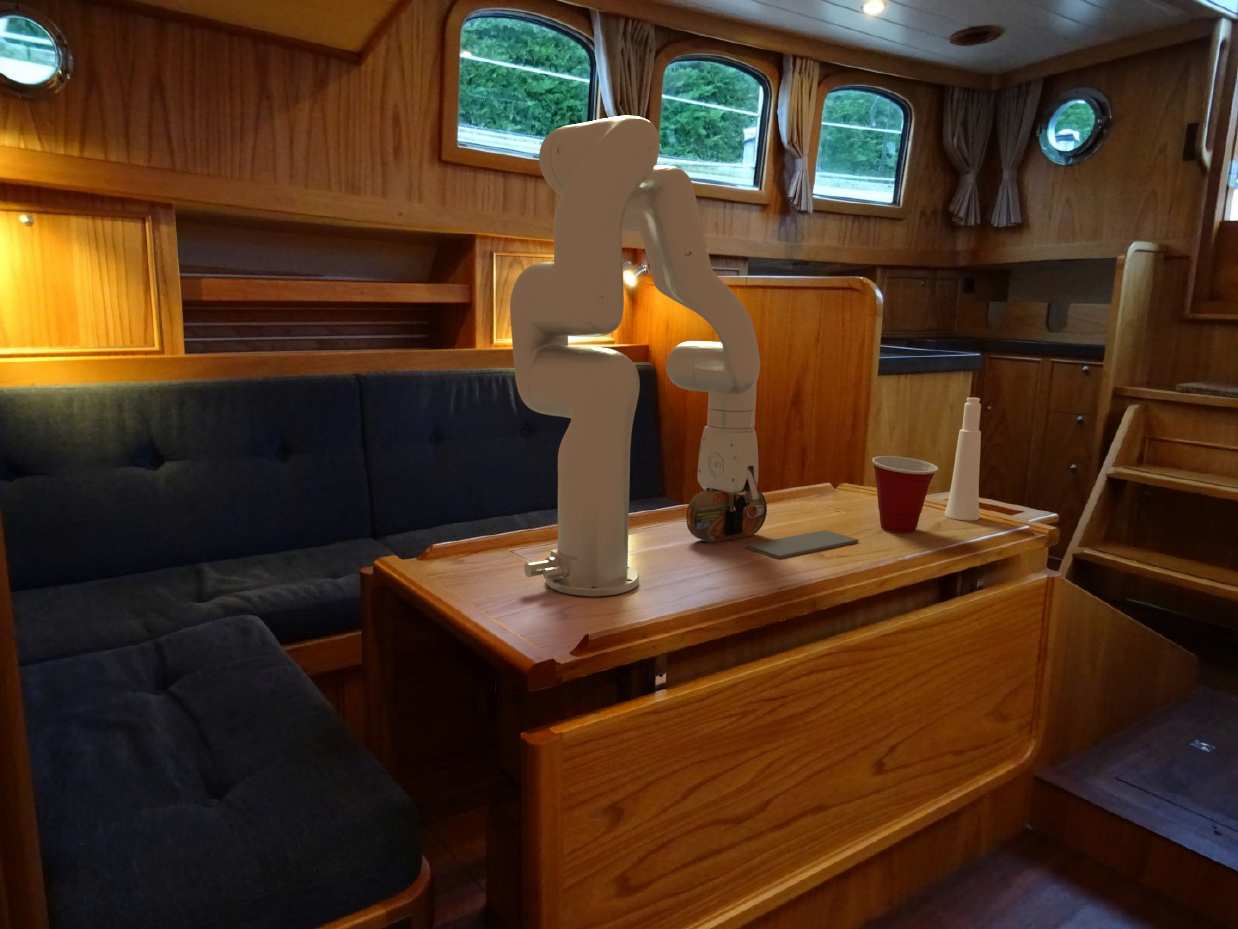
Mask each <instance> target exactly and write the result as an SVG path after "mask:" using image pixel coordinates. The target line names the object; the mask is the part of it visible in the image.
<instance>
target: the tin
mask: <svg viewBox="0 0 1238 929" xmlns="http://www.w3.org/2000/svg"><path fill="white" fill-rule="evenodd" d="M756 490H757V493H758V499H757V500H755V501H752V502H750V503H749V504H748V505H747V506H746V509H745V510H743V522H742V533H741V534H736V535H730V536H728V535H726V534H725V518H726V511H729V495H728V493H724V492H720V491H717V490H706V491H705V490H703V491H700V492H698V493H696V494H695V495H694V496H693V497H692V498H691V500H690V501H689V504H688V506H687V508H686V520H685V521H686V526H687V529H688V531H689V533H690V534H691V535H692V536H694V537H695V538H697V539H699V540H700V541H702V542H705V543H709V544H715V543H719V542H720V543H721V542H725V541H732V540H736V539H743V538H748V537H751V536H753V535H755V534H756V533H758V531H760V529H761V528H762V527H763V525H764V523H765V521H766V518H767V512H768V506H767V505H768V504H767V500H766V497H765V496H764V494H763V492H762V491H761V490H759V489H758V488H756ZM738 498H739V496H736V500H737V499H738Z"/></svg>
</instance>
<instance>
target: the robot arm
mask: <svg viewBox="0 0 1238 929" xmlns="http://www.w3.org/2000/svg"><path fill="white" fill-rule="evenodd" d="M659 154H660V136H659V132H658V129H657V128H656V126H655V125H654V124H653V122H652V121H651V120H649V119H646V118H645V117H641V116H636V115H620V116H613V117H608V118H607V117H606V118H600V119H597V120H592V121H587V122H581V123H576V124H570V125H565V126H561V127H558V128H556V129H554V130H552V131H551V132H550V133H549V134H548V135H546V136H545V137H544V139H543V140H542V143H541V146H540V148H539V154H538V162H539V168H540V171H541V173H542V176H543V178H544V180H545V181H546V183H547V185H548V186H549V187H550V188H551V189H552V190H553V191H554V192H555V193H556V194H557V195H558V196H560V197H559V198H558V201H557V202H558V203H557V205H556V209H555V212H554V218H553V261H544V262H537V263H534V264H531V265H530V266H528V267H526V268H524V270H522V271H521V272H520V274H519V275H518V276H517V278H516V280H515V282H514V285H513V287H512V291H511V295H510V301H509V314H510V316H509V318H510V330H511V331H510V332H511V342H512V356H513V366H514V376H515V383H516V387H517V391H518V394H519V396H520V399H521V400H522V402H523V403H524V404H525V406H526V407H527V408H528V409H530V410H532V411H534V412H536V413H539V414H543V415H547V416H554V417H561V418H568V419H570V423H569V424H568V427H567V429H566V431H565V433H564V435H563V437H562V440H561V442H560V445H559V448H558V452H557V453H558V454H557V548H556V549H551V550H549V551H550V552H549V553H550V555H549V556H547V557H546V558H545V559H544V560H541V561H540V560H536V561H529V562H525V564H524V566H523V567H524V569H523V570H524V574H525V575H526V577H527V578H531V577H532V578H533V577H537V576H538V577H539V576H543V577H542V578H544V579H545V583H546V584H547V586H548V587H549V588H551V589H553V590H555V591H557V592H559V593H563V594H567V595H570V596H579V597H608V596H614V595H619V594H623V593H627V592H629V591H632V590H634V588H636V587H637V586H638V585H639V580H640V575H639V573H638V571H637V570H636V569H634V568H632V567H631V566H629V565H628V563H629V521H630V519H629V518H630V515H629V514H630V512H629V511H630V477H631V476H630V475H631V474H630V473H631V469H630V468H631V464H630V463H631V444H632V430H633V424H634V420H635V419H634V418H635V413H636V409H637V404H638V400H639V394H640V386H641V384H640V382H641V381H640V375H639V374H640V373H639V371H638V369H637V367H636V365H635V364H634V361H632V360H631V359H630V358H629V357H628V356H627V355H626V354H624V353H622V352H620V351H618V350H615V349H612V348H608V347H600V346H598V347H596V346H585V345H582V346H581V345H575V346H574V345H569V337H580V338H581V337H586V338H587V337H588V338H590V337H591V338H592V337H593V338H594V337H595V338H597V337H604V336H607V335H610V334H612V333H613V332H615V331H616V330H618V328H619V327H620V325H621V323H622V322H623V317H624V311H625V310H624V309H625V308H624V307H625V306H624V305H625V296H624V295H625V294H624V289H625V288H624V268H623V266H624V264H623V240H622V239H623V238H622V236H623V233H624V232H626V233H627V232H639V233H640V236H641V239H642V242H643V246H644V250H645V254H646V258H647V261H648V265H649V270H650V273H651V278H652V281H653V285H654V287H655V289H656V290H657V291H659V293H661V294H662V295H664V296H666V297H668V298H669V299H670V300H673V301H674V302H676V303H678V304H679V305H682V306H683V307H685V308H687V309H689V310H690V311H693V312H694V313H696V315H698V316H700V317H702V318H703V320H705V321H706V322H707V324H709V325H710V327H711V328H712V329H713V331H714V332H715V333H716V335H717V337H718V338H719V341H706V340H705V341H702V340H688V341H687V340H686V341H684V342H680V343H679V344H677V345H676V346H674V347H673V348H672V349H671V350H670V352H669V353H668V355H667V358H666V362H665V371H666V374H667V377H668V378H669V380H670V381H671V383H672V384H674V385H676V387H678V388H681V389H682V390H687V391H692V392H693V391H695V392H704V393H706V392H708V395H707V396H708V401H707V412H706V413H707V414H706V416H707V419H706V421H707V423H706V424H707V425H706V426H704V427H703V432H702V436H701V441H700V446H699V453H698V461H697V462H698V463H697V481H698V484H699V485H700V487H701V488H702V489H703V491H706V490H717V491H720V492H724V493H728V495H729V511H726V518H725V534H726V535H728V536H730V535H736V534H741V533H742V522H743V510H745V509H746V506H747V505H748V504H749V503H750V502H752V501H755V500H757V499H758V493H757V490H756V489H757V487H758V482H759V481H758V480H759V450H758V437H757V431H756V430H755V426H756V425H755V424H756V406H757V404H756V403H757V386H758V385H757V383H758V380H759V378H760V377H759V376H760V372H761V371H760V370H761V360H760V359H761V358H760V351H759V346H758V341H757V336H756V332H755V331H756V330H755V327H754V326H755V325H754V323H753V321H752V318H751V316H750V314H749V312H748V310H747V308H746V307H745V306H744V304H743V303H742V302H741V301H740V299H739V297H737V295H736V294H735V293H734V291H733V290H732V289H731V288H730V287H729V286H728V285H727V284H726V282H724V281H723V280H722V279H721V278H720V277H719V276H718V275H717V274H716V272H715V270H713V267H712V264H711V260H710V256H709V251H708V246H707V242H706V236H705V233H704V229H703V224H702V218H701V215H700V211H699V206H698V202H697V198H696V197H697V196H696V193H695V189H694V185H693V182H692V179H691V178H690V176H689V175H688V173H686V172H685V171H684V170H683V169H681V168H679V167H676V166H672V165H656V164H657V162H658V160H659V159H658V158H659ZM736 496H739V498H738V499H737V500H736Z"/></svg>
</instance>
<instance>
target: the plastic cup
mask: <svg viewBox="0 0 1238 929" xmlns="http://www.w3.org/2000/svg"><path fill="white" fill-rule="evenodd" d="M871 461H872V464H873V467H874V473H875V480H876V481H875V482H876V493H877V506H878V507H877V508H878V510H879V511H878V512H879V522H880V523H879V524H880V528H881V529H882V530H883V531H887V532H890V533H897V534H910V533H912V534H913V533H915V532H916V530H917V528H918V525H919V522H920V521H919V520H920V516H921V514H922V510H923V507H924V503H925V500H926V496H927V492H928V489H929V486H930V484H931V482H932V479H933V477H934V475H935V473H937V472H938V470H939V468H938V466H937V465H935V464H934V463H931V462H928V461H926V460H921V459H917V458H912V457H905V456H894V455H882V456H880V455H879V456H875V457H872V460H871Z"/></svg>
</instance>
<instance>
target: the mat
mask: <svg viewBox="0 0 1238 929" xmlns="http://www.w3.org/2000/svg"><path fill="white" fill-rule="evenodd" d="M858 543H859V539H857V538H855V537H851V536H848V535H844V534H840V533H838V532H835V531H830V530H827V529H823V530H817V531H813V532H807V533H802V534H797V535H796V534H795V535H791V536H786V537H780V538H776V539H775V538H774V539H770V540H763V541H758V542H754V543H749V544H746V547H745V548H746V549H748V550H751V551H754V552H758V553H761V554H763V555H766V556H768V557H772V558H775V559H778V560H779V559H783V558H784V559H785V558H789V557H793V556H799V555H804V554H809V553H813V552H818V551H824V550H828V549H832V548H838V547H843V546H849V545H853V544H858Z"/></svg>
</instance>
